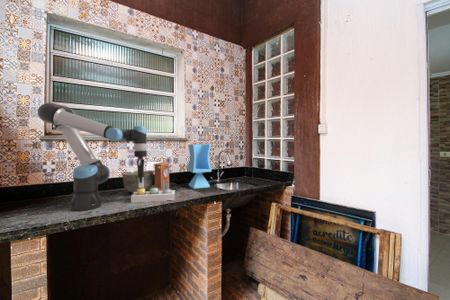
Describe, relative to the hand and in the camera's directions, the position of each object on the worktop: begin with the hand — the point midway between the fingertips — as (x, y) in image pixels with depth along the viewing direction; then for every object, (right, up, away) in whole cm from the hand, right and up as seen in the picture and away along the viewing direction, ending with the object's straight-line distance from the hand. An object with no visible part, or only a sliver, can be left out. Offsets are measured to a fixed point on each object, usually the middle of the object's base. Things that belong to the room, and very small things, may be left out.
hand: (141, 187), depth 143 cm
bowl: (-10, -8, +22) cm, 25 cm away
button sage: (+8, -4, +2) cm, 9 cm away
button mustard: (0, -4, 0) cm, 4 cm away
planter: (+32, -7, +44) cm, 54 cm away
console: (+8, -8, +2) cm, 11 cm away
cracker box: (+7, -8, +23) cm, 25 cm away
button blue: (+15, -6, +4) cm, 17 cm away
